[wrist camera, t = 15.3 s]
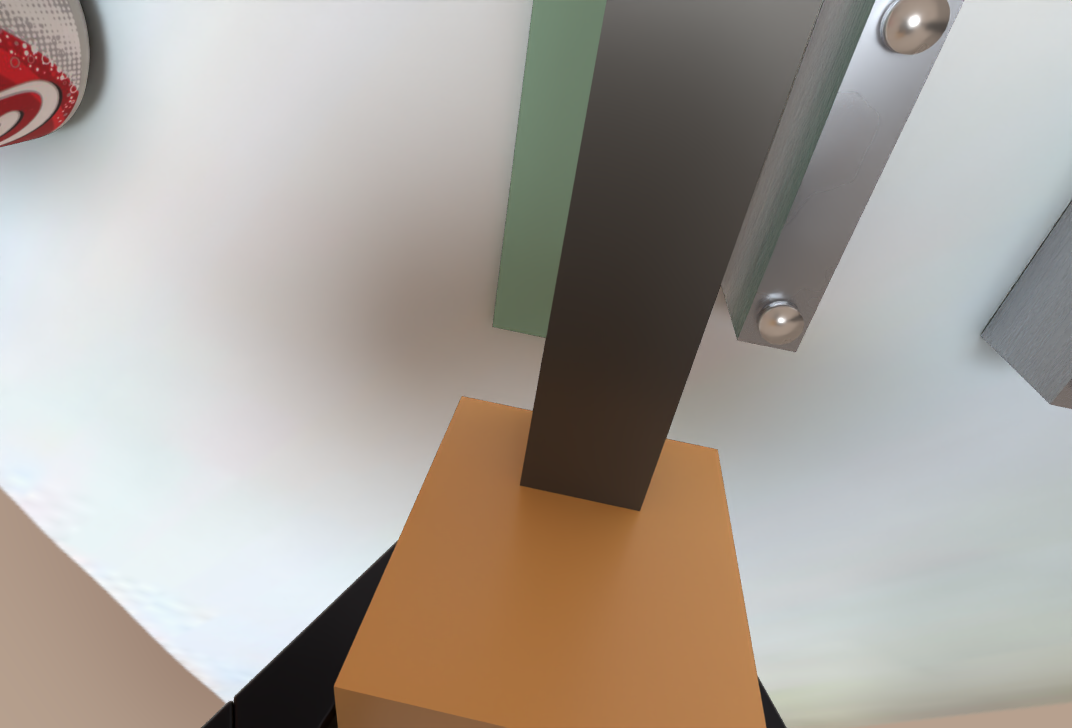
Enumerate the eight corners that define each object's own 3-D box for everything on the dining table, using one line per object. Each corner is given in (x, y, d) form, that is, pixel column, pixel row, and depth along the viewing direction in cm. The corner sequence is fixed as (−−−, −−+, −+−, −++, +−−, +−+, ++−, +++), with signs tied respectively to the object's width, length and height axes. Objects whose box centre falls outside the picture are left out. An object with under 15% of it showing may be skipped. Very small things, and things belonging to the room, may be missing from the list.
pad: (825, -113, 12) (829, -116, 12) (668, 358, 19) (668, 363, 19) (555, -159, 13) (553, -163, 12) (494, 322, 20) (492, 326, 19)
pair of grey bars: (1254, 45, 13) (1464, 61, 10) (1030, 346, 17) (1122, 426, 14) (834, -30, 13) (898, -37, 10) (720, 283, 18) (739, 348, 14)
